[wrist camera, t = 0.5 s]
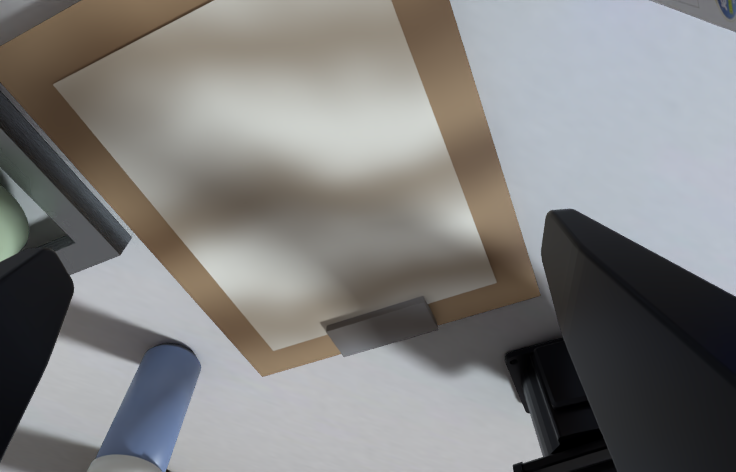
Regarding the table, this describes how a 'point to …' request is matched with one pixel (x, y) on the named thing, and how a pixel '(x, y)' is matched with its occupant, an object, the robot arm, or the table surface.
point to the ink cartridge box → (707, 10)
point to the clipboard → (287, 161)
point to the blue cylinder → (150, 413)
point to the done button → (11, 225)
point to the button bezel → (58, 195)
